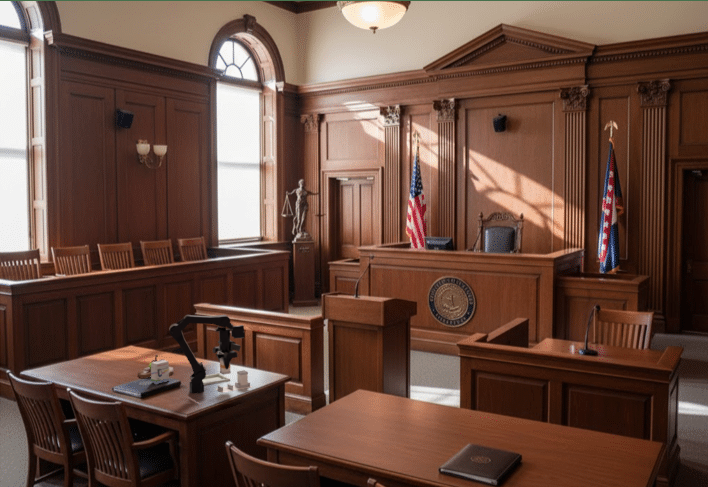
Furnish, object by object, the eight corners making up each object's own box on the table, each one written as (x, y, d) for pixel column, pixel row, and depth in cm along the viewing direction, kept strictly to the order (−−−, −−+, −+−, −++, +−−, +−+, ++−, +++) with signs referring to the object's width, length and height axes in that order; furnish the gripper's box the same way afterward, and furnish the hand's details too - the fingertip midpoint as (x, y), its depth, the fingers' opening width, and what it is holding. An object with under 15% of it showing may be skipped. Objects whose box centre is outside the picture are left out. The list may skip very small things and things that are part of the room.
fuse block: (221, 394, 343) (221, 388, 343) (214, 390, 351) (214, 385, 350) (253, 388, 354) (253, 383, 354) (245, 385, 361) (245, 379, 361)
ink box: (163, 380, 371) (163, 359, 371) (169, 381, 368) (169, 360, 368) (150, 383, 364) (150, 362, 364) (156, 385, 361) (155, 363, 361)
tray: (204, 386, 358) (204, 383, 358) (193, 380, 370) (193, 377, 370) (230, 382, 367) (230, 378, 366) (218, 376, 379) (218, 373, 379)
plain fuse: (240, 387, 352) (240, 373, 352) (237, 386, 355) (237, 371, 355) (247, 386, 355) (247, 371, 354) (244, 384, 358) (244, 370, 357)
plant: (177, 369, 397) (177, 351, 396) (170, 378, 377) (169, 358, 376) (143, 370, 395) (143, 351, 395) (134, 378, 376) (134, 359, 375)
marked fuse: (223, 374, 346) (223, 359, 345) (219, 372, 349) (219, 357, 349) (230, 373, 348) (230, 358, 348) (227, 371, 352) (227, 356, 351)
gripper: (246, 340, 345) (247, 369, 346) (231, 334, 360) (231, 362, 361) (226, 342, 338) (227, 372, 339) (211, 337, 353) (212, 365, 354)
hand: (225, 368), depth 349 cm, fingers closed on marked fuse, 4 cm apart
